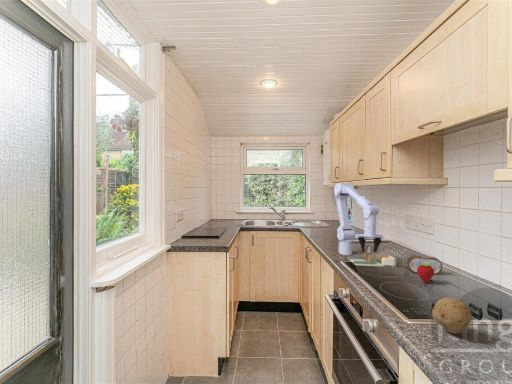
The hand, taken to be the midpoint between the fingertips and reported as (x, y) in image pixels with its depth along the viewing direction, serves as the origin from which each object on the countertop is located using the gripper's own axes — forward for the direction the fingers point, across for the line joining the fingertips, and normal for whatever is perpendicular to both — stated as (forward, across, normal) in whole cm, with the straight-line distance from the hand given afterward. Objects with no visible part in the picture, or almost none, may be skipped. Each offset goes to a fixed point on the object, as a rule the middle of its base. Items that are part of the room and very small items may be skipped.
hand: (369, 251), depth 149 cm
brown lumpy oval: (+7, -3, -71) cm, 71 cm away
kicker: (+6, 0, 0) cm, 6 cm away
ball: (+4, +9, 0) cm, 10 cm away
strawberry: (+7, +14, -28) cm, 32 cm away
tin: (+7, +22, -13) cm, 27 cm away
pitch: (+7, +1, 0) cm, 7 cm away
